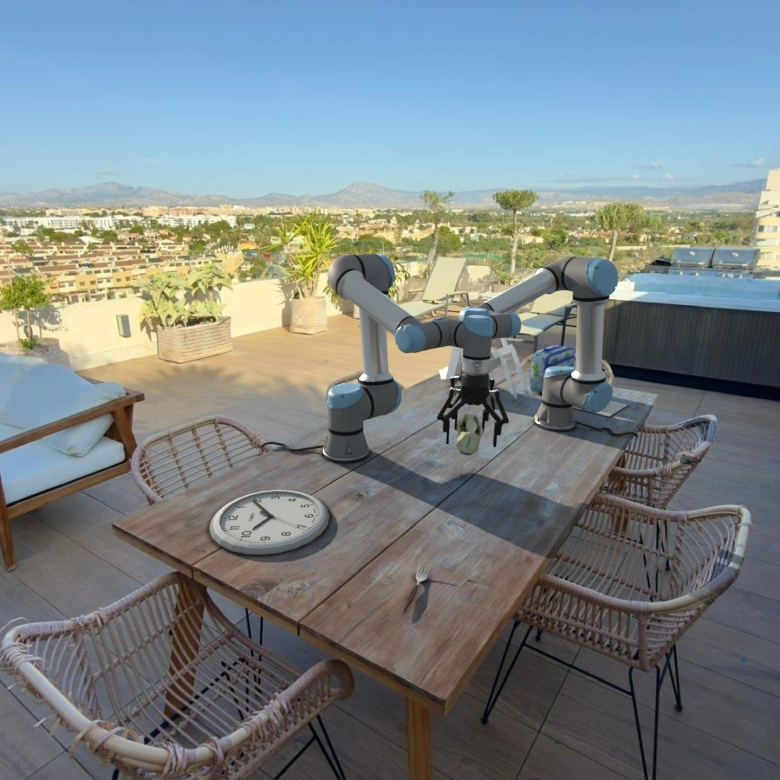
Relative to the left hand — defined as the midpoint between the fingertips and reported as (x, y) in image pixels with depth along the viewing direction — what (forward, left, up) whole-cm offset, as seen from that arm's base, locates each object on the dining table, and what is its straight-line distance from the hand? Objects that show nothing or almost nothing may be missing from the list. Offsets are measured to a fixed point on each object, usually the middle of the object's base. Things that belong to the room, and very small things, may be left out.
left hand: (470, 444), depth 150 cm
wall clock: (-36, -45, -14) cm, 59 cm away
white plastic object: (-32, +90, -14) cm, 96 cm away
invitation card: (+20, +100, -14) cm, 103 cm away
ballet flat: (-3, +8, -2) cm, 9 cm away
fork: (+9, -49, -14) cm, 52 cm away
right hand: (-7, +15, -2) cm, 16 cm away
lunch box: (-5, +111, -14) cm, 112 cm away
